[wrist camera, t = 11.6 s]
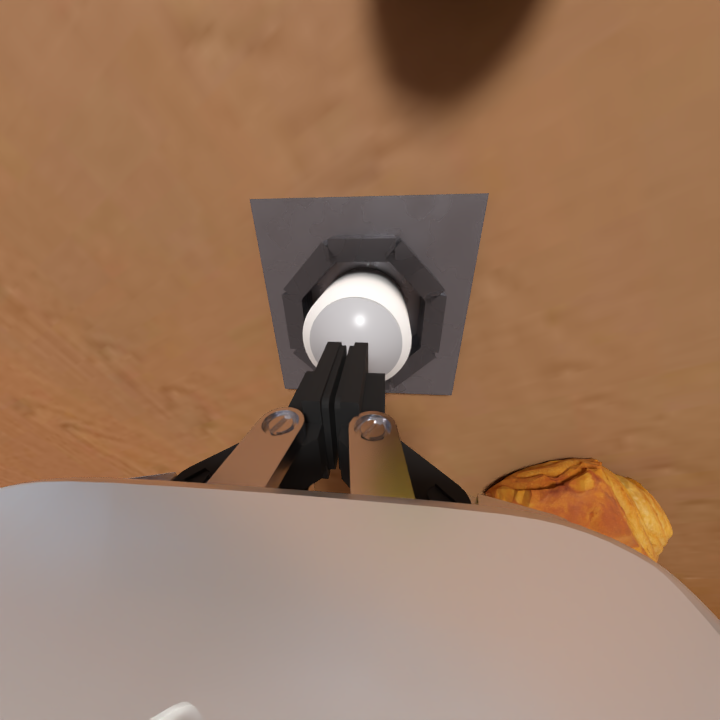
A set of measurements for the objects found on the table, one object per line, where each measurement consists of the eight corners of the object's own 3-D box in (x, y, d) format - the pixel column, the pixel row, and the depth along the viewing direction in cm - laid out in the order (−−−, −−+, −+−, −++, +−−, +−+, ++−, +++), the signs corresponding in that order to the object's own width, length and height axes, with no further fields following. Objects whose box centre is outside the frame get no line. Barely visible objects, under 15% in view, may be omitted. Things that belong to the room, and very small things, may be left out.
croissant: (619, 506, 31) (701, 591, 24) (487, 545, 33) (526, 633, 26) (618, 418, 25) (730, 497, 18) (456, 474, 27) (496, 563, 20)
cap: (403, 351, 20) (407, 393, 15) (325, 348, 21) (306, 387, 16) (410, 268, 17) (417, 289, 13) (319, 267, 18) (293, 287, 13)
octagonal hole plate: (449, 389, 22) (458, 415, 20) (288, 383, 24) (274, 407, 21) (484, 194, 16) (505, 190, 13) (255, 199, 17) (228, 197, 14)
